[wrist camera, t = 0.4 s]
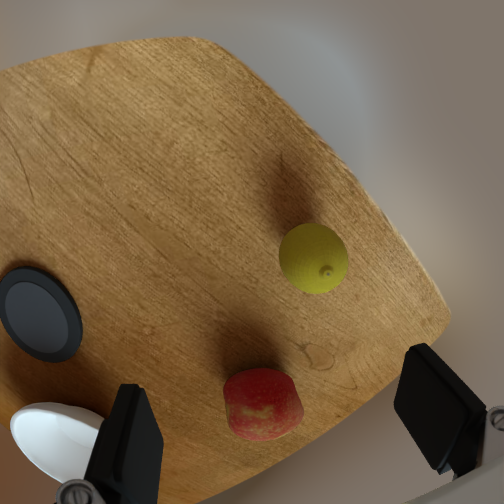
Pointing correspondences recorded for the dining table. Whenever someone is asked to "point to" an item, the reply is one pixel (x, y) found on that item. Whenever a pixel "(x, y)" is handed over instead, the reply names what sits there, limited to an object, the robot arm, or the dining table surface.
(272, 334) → the dining table surface
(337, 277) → the lemon
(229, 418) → the apple
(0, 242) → the dining table surface
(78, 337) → the plate
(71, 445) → the bowl
